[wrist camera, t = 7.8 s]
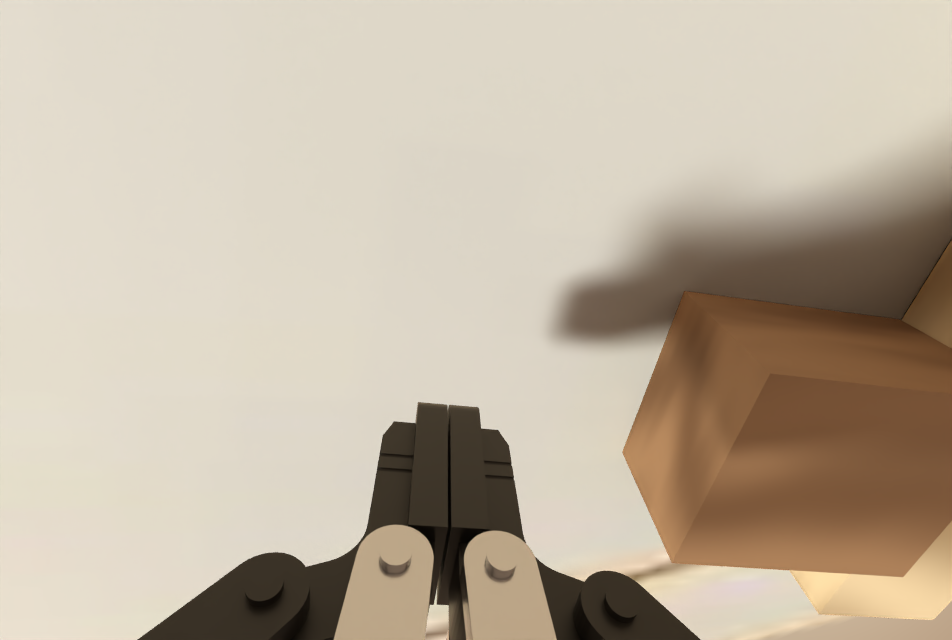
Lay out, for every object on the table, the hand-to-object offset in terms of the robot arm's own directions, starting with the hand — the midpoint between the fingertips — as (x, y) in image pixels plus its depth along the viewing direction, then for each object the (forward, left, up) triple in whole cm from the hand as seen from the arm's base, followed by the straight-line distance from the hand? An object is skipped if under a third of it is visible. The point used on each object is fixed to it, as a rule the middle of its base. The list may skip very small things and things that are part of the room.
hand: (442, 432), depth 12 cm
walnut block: (+1, +12, -5) cm, 13 cm away
